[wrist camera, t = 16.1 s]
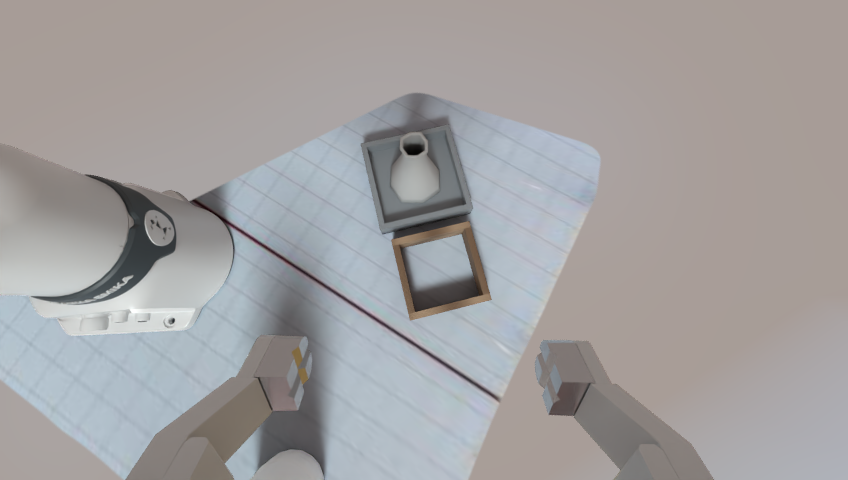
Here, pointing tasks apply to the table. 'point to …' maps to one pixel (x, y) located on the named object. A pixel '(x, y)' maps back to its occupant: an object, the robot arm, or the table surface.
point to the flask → (414, 171)
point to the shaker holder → (472, 255)
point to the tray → (437, 208)
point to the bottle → (290, 467)
